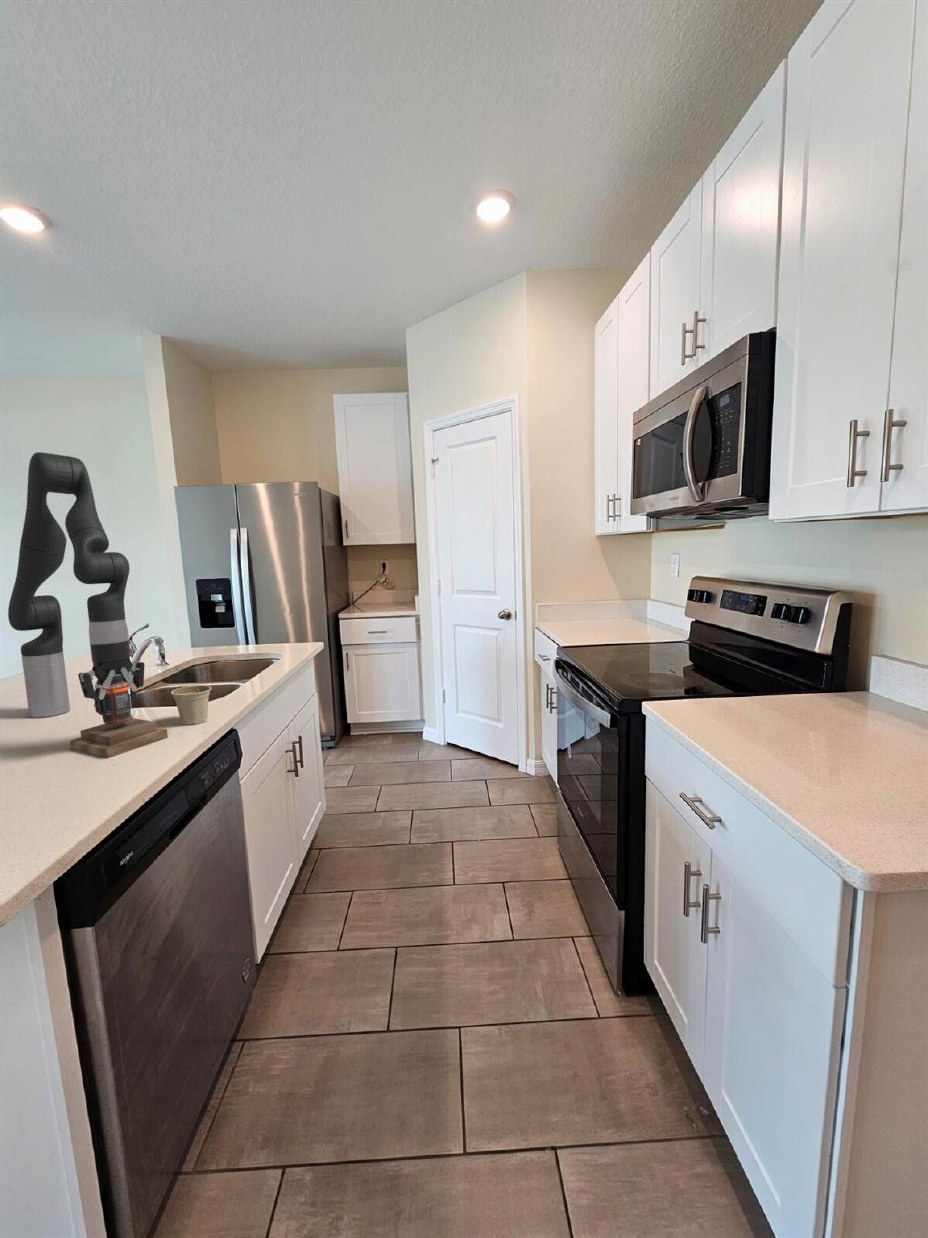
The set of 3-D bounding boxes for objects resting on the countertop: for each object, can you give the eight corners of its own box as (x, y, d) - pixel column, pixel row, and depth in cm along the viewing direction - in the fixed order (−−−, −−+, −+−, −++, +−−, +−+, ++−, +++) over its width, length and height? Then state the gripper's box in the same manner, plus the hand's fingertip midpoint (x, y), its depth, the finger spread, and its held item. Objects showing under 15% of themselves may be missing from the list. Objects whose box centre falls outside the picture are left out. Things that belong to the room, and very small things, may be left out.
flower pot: (203, 727, 138) (200, 694, 137) (166, 727, 138) (163, 694, 137) (220, 716, 147) (217, 685, 146) (186, 716, 147) (183, 685, 146)
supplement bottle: (139, 717, 129) (134, 671, 128) (121, 725, 124) (116, 677, 122) (115, 717, 130) (111, 671, 128) (96, 725, 124) (91, 677, 123)
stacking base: (71, 748, 124) (69, 732, 124) (131, 730, 137) (130, 714, 136) (108, 758, 118) (106, 740, 117) (167, 737, 130) (166, 721, 130)
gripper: (130, 634, 132) (137, 700, 134) (65, 644, 119) (74, 717, 122) (150, 635, 129) (156, 704, 131) (85, 646, 116) (94, 721, 118)
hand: (117, 710), depth 126 cm, fingers closed on supplement bottle, 6 cm apart
